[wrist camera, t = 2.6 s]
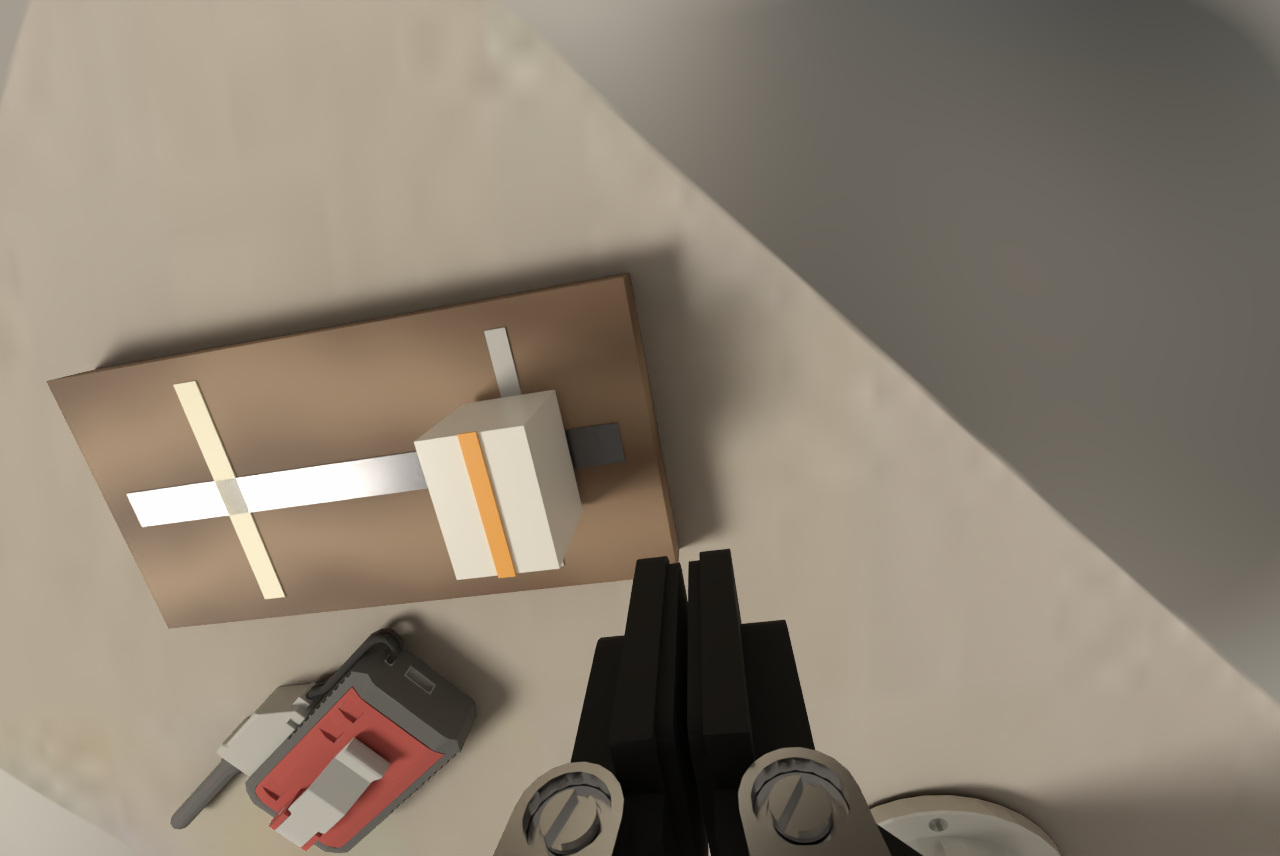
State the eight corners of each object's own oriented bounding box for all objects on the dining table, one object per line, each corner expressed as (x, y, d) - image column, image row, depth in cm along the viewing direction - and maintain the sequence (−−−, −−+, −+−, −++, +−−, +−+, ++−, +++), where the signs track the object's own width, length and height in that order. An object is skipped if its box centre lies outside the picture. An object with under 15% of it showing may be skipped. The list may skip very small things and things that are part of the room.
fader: (583, 512, 24) (559, 571, 20) (496, 522, 24) (456, 582, 20) (554, 388, 22) (522, 425, 18) (463, 402, 23) (411, 441, 19)
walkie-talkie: (364, 585, 29) (180, 790, 35) (309, 645, 25) (111, 867, 31) (503, 692, 31) (304, 872, 37) (473, 766, 26) (253, 956, 32)
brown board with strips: (679, 549, 27) (677, 575, 25) (202, 602, 30) (167, 629, 28) (629, 272, 23) (622, 277, 21) (93, 369, 26) (45, 381, 24)
